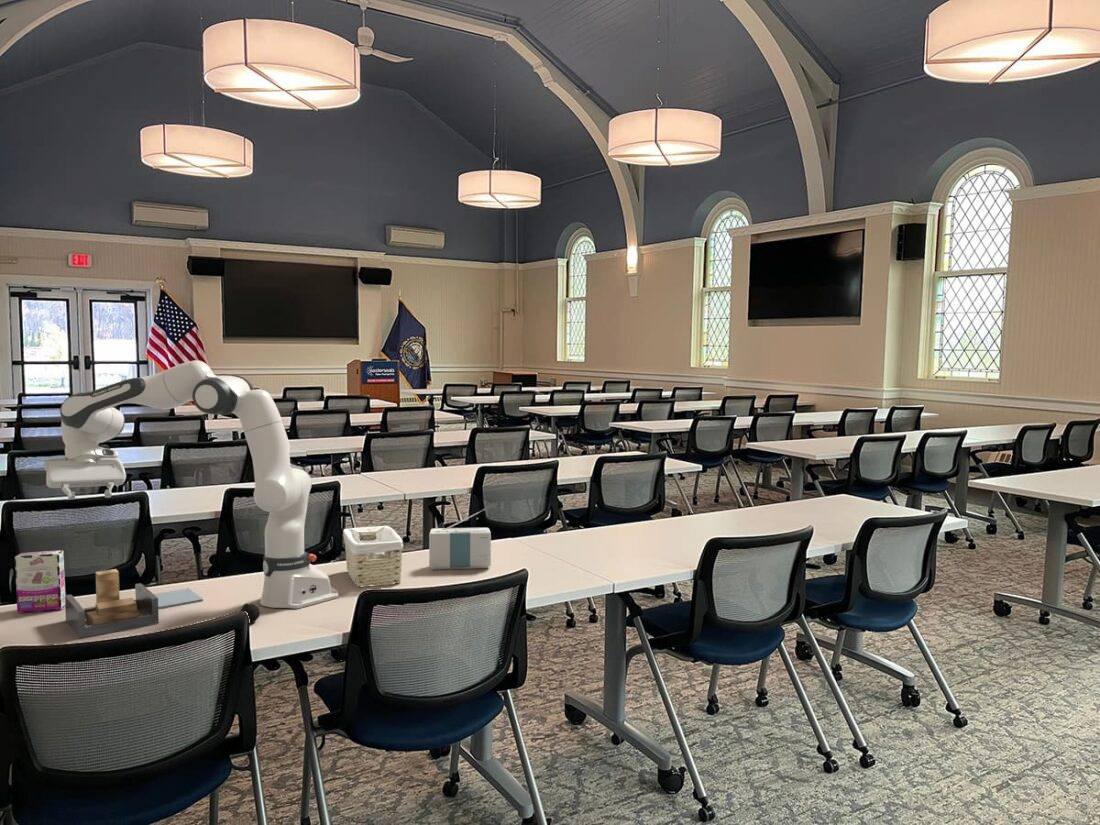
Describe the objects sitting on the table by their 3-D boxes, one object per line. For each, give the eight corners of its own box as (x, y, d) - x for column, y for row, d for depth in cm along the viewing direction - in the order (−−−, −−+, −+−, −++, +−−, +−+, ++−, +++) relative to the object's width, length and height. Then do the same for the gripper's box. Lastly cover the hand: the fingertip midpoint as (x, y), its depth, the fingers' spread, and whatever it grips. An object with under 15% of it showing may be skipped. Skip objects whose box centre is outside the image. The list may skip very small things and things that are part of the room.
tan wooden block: (117, 614, 227) (115, 568, 226) (120, 617, 224) (118, 571, 223) (97, 618, 223) (95, 571, 222) (99, 621, 221) (98, 574, 220)
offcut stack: (135, 617, 225) (134, 596, 225) (142, 624, 220) (141, 602, 219) (86, 626, 217) (85, 604, 217) (92, 633, 212) (91, 611, 212)
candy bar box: (66, 605, 234) (64, 549, 233) (61, 610, 230) (59, 553, 228) (22, 608, 231) (20, 551, 230) (16, 613, 226) (14, 556, 225)
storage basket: (404, 585, 258) (404, 539, 257) (353, 590, 252) (352, 543, 251) (390, 566, 280) (389, 524, 279) (342, 571, 274) (341, 528, 273)
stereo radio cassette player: (429, 571, 275) (429, 513, 273) (429, 565, 283) (429, 508, 281) (490, 569, 277) (491, 512, 276) (489, 563, 286) (489, 507, 284)
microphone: (189, 651, 208) (263, 623, 222) (189, 632, 206) (263, 606, 220) (180, 639, 212) (254, 613, 226) (180, 621, 210) (254, 596, 223)
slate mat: (188, 590, 250) (188, 588, 250) (202, 601, 240) (202, 599, 239) (139, 598, 241) (139, 596, 241) (151, 610, 231) (151, 608, 230)
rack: (141, 607, 233) (140, 583, 233) (158, 623, 220) (158, 598, 219) (65, 620, 221) (64, 595, 221) (79, 638, 207) (78, 611, 207)
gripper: (44, 452, 230) (51, 493, 224) (123, 450, 244) (131, 489, 238) (40, 464, 234) (46, 505, 228) (118, 462, 248) (125, 501, 242)
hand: (90, 497), depth 233 cm, fingers open, 8 cm apart
